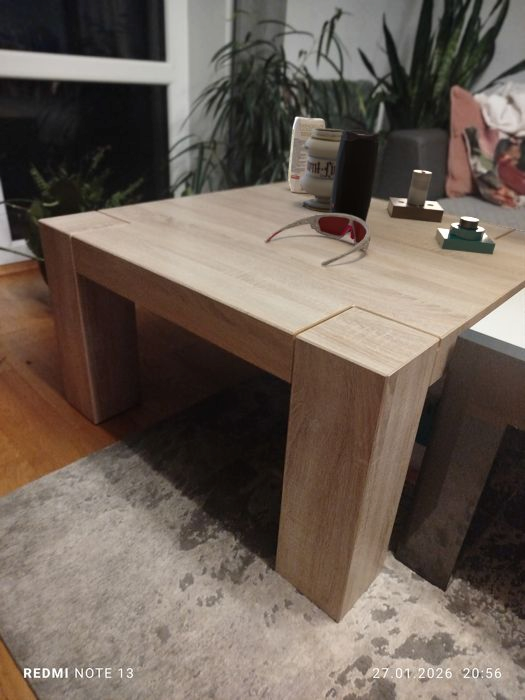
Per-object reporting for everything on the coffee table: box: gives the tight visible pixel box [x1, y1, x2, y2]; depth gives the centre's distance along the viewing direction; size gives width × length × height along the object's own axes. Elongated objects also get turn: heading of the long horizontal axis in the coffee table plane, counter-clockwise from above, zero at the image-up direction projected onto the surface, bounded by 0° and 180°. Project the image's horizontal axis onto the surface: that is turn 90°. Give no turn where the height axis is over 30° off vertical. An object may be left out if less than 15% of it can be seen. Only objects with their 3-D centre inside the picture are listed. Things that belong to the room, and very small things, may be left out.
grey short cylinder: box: [458, 216, 480, 230], centre depth 102 cm, size 4×4×2 cm
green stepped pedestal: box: [434, 222, 496, 255], centre depth 103 cm, size 10×8×4 cm
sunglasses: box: [264, 212, 372, 266], centre depth 95 cm, size 17×17×5 cm
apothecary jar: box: [300, 127, 344, 213], centre depth 122 cm, size 12×12×18 cm
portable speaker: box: [329, 128, 381, 232], centre depth 107 cm, size 9×9×20 cm
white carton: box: [287, 116, 326, 194], centre depth 138 cm, size 8×9×19 cm
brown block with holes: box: [386, 196, 445, 224], centre depth 125 cm, size 12×10×3 cm
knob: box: [406, 169, 433, 205], centre depth 122 cm, size 4×4×8 cm
